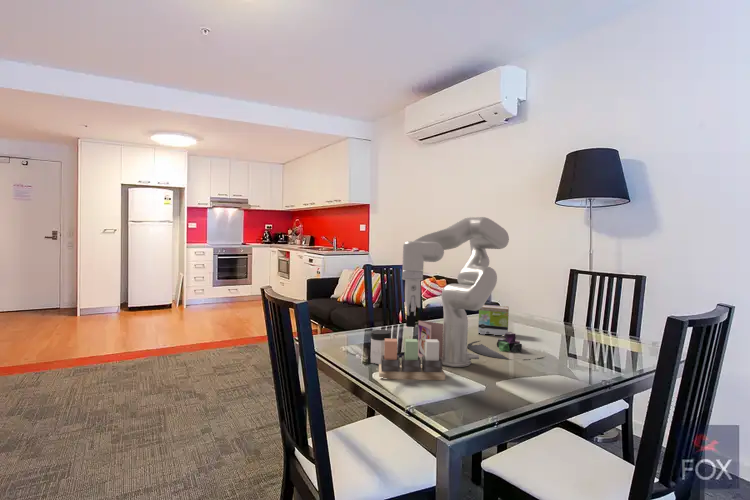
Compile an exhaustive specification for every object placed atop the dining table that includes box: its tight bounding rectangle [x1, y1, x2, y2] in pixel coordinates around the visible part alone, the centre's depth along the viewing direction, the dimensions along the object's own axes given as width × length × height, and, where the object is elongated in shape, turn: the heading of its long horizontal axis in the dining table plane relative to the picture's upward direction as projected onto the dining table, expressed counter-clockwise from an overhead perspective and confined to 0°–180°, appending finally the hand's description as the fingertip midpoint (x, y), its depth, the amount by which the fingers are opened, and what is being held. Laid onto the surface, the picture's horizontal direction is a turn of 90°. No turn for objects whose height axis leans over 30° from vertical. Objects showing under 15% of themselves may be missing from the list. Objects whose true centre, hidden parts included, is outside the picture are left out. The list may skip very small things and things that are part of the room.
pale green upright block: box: [404, 338, 418, 360], centre depth 155 cm, size 4×4×7 cm
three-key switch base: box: [378, 355, 446, 381], centre depth 155 cm, size 23×11×6 cm, turn 90°
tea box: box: [477, 304, 510, 336], centre depth 226 cm, size 15×10×15 cm
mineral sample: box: [467, 331, 546, 361], centre depth 194 cm, size 35×35×9 cm
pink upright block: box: [384, 338, 398, 360], centre depth 155 cm, size 4×4×7 cm
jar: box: [370, 329, 392, 365], centre depth 171 cm, size 9×8×12 cm
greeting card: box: [417, 320, 444, 358], centre depth 177 cm, size 11×7×15 cm, turn 20°
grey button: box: [425, 339, 439, 361], centre depth 155 cm, size 4×4×7 cm
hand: (410, 326), depth 154 cm, fingers closed
